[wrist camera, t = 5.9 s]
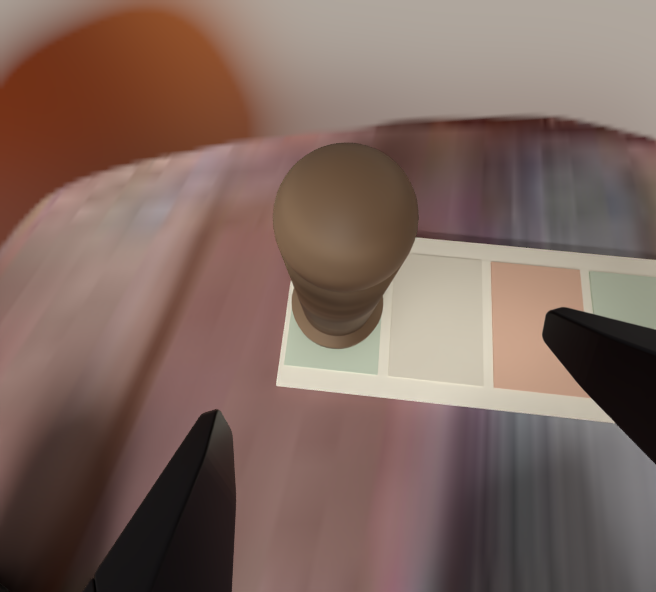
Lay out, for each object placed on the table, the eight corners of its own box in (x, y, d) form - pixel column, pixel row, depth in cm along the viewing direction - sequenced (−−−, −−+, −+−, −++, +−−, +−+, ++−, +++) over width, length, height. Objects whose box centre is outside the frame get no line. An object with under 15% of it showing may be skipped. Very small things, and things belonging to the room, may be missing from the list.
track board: (277, 385, 19) (275, 385, 18) (299, 230, 21) (298, 225, 21) (698, 431, 18) (713, 434, 17) (670, 265, 20) (681, 261, 20)
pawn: (314, 363, 18) (284, 333, 6) (280, 284, 20) (199, 129, 7) (395, 327, 19) (514, 231, 7) (357, 252, 20) (399, 56, 8)
